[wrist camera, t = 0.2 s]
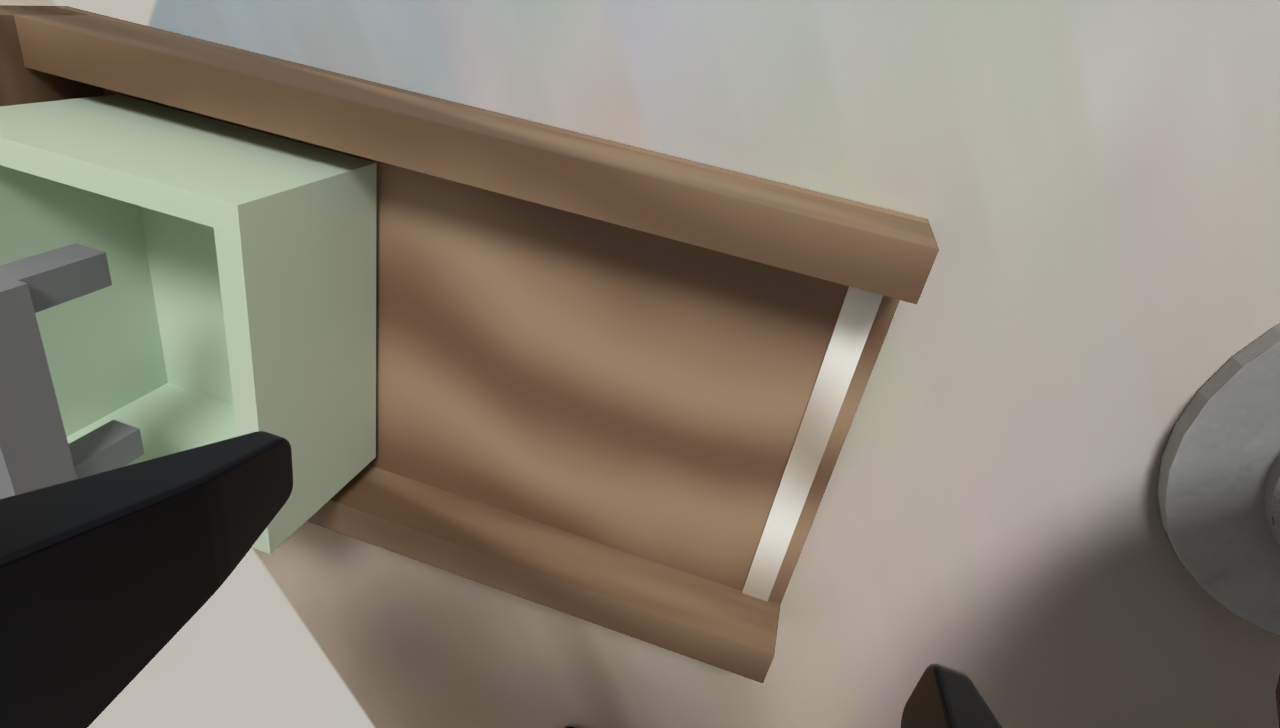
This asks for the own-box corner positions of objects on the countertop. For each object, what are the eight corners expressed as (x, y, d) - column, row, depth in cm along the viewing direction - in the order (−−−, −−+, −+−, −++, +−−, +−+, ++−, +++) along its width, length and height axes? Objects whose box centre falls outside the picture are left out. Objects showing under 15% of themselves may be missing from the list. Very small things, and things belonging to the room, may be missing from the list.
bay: (771, 621, 28) (754, 745, 23) (141, 405, 32) (19, 473, 28) (927, 219, 20) (950, 282, 15) (67, 6, 24) (-123, 3, 20)
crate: (375, 457, 29) (169, 647, 20) (166, 386, 30) (-110, 535, 22) (376, 162, 23) (89, 250, 14) (118, 93, 25) (-284, 136, 16)
